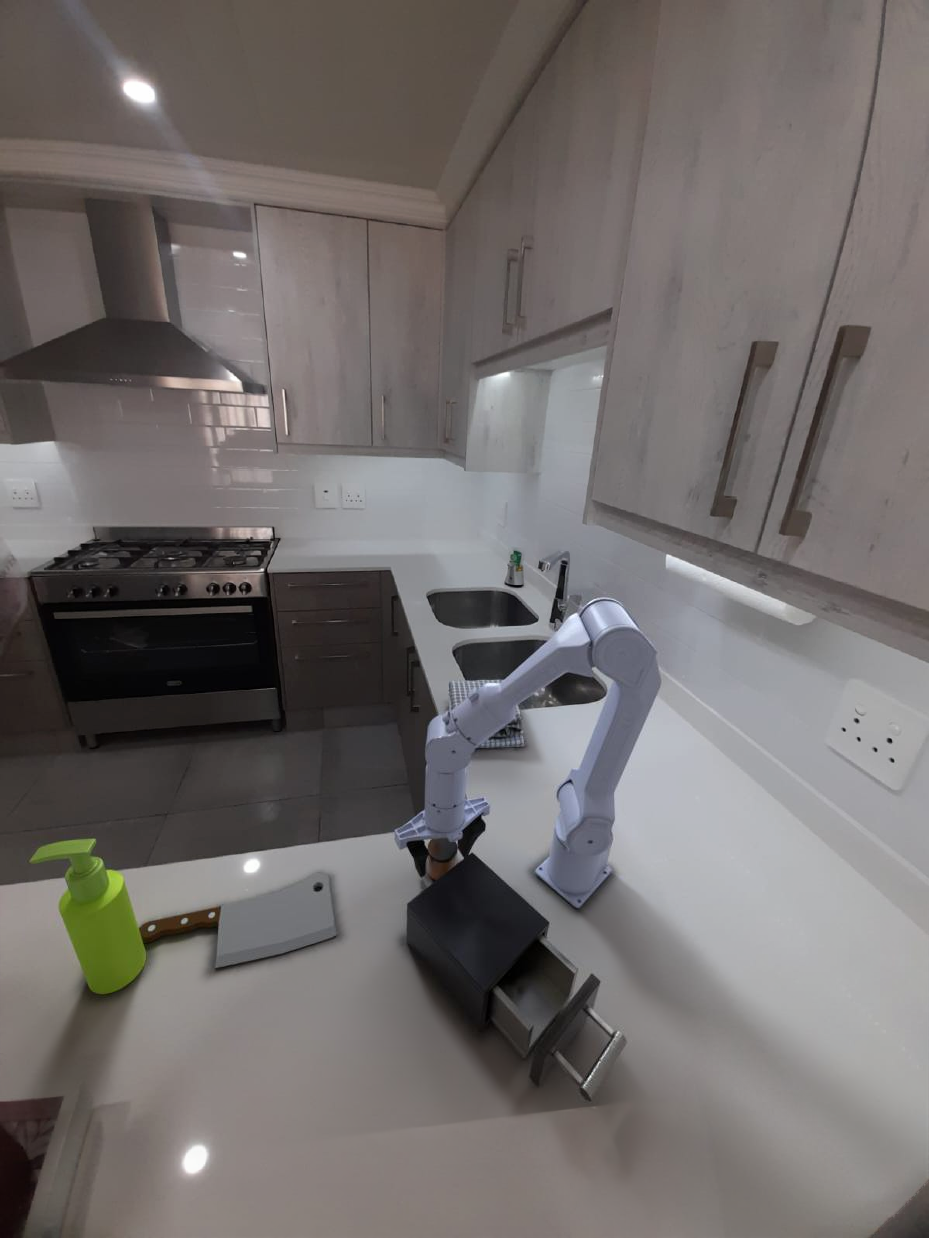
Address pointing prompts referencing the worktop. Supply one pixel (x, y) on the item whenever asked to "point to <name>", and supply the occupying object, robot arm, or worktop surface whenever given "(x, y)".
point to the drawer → (550, 1014)
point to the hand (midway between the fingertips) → (441, 861)
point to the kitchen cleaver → (259, 922)
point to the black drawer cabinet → (471, 932)
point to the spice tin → (441, 857)
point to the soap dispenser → (97, 917)
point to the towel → (506, 735)
